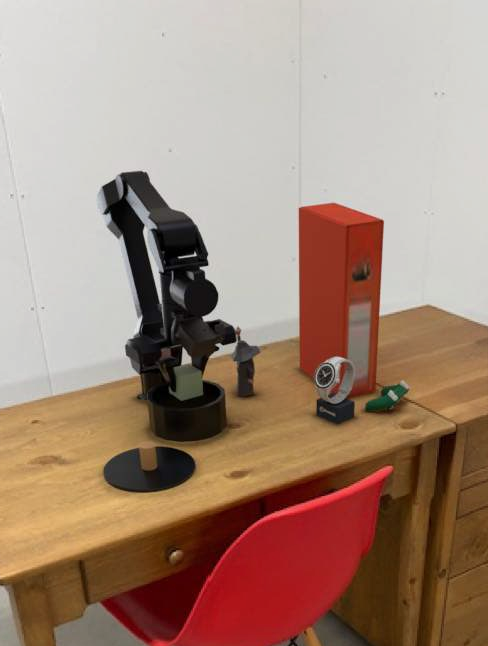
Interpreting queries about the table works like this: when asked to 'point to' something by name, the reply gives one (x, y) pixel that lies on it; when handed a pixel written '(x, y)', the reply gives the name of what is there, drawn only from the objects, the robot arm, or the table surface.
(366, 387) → the file binder
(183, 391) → the block
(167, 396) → the pot
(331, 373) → the watch
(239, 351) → the wizard figurine
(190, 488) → the table surface
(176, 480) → the lid
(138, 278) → the robot arm
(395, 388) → the green toy shoe
